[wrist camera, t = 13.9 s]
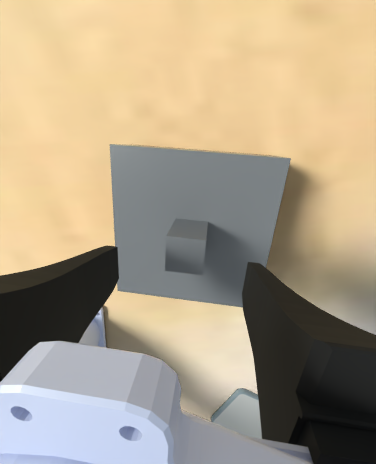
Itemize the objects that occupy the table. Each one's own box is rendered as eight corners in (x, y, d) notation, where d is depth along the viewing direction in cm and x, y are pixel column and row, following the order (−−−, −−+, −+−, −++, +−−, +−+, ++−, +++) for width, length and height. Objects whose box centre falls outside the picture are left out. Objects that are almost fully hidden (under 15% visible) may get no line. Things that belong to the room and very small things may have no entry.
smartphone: (299, 461, 33) (209, 423, 31) (296, 453, 34) (209, 415, 32) (338, 434, 30) (240, 390, 28) (334, 425, 30) (239, 383, 29)
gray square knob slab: (248, 277, 23) (265, 343, 15) (135, 264, 24) (98, 319, 16) (272, 155, 19) (313, 161, 11) (133, 144, 20) (81, 143, 12)
